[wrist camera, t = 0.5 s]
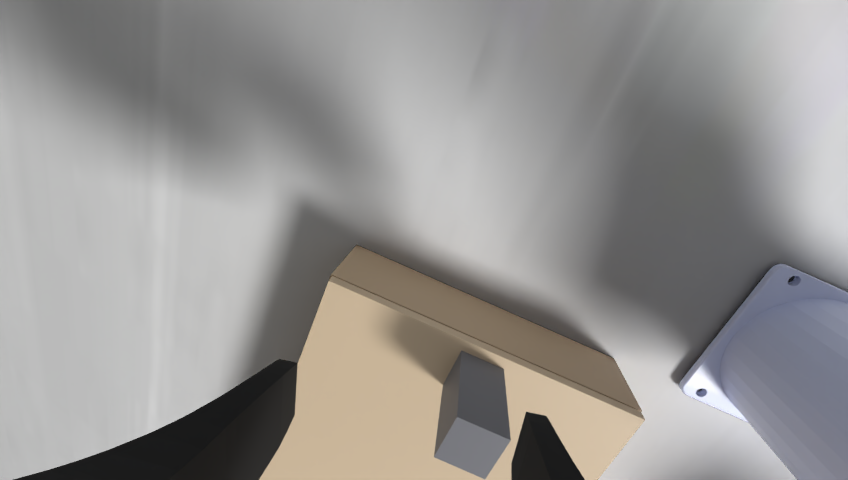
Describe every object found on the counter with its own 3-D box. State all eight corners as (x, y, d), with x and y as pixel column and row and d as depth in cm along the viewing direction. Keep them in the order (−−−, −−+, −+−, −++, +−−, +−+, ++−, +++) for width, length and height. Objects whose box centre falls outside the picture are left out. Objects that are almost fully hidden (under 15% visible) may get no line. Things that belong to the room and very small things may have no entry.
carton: (613, 358, 22) (642, 411, 18) (483, 542, 27) (484, 612, 24) (356, 244, 22) (331, 274, 18) (276, 452, 27) (243, 508, 23)
